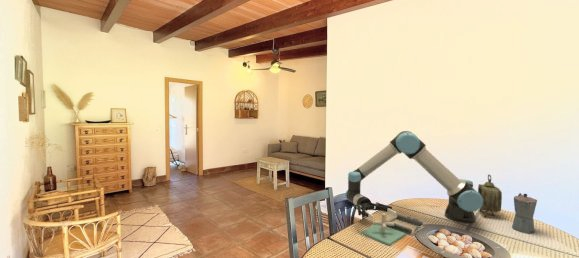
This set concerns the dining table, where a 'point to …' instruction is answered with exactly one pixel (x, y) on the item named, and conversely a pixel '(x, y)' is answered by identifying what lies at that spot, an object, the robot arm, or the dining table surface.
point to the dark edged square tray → (407, 220)
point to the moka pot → (524, 213)
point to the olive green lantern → (490, 197)
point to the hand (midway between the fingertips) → (384, 216)
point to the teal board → (383, 234)
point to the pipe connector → (383, 223)
